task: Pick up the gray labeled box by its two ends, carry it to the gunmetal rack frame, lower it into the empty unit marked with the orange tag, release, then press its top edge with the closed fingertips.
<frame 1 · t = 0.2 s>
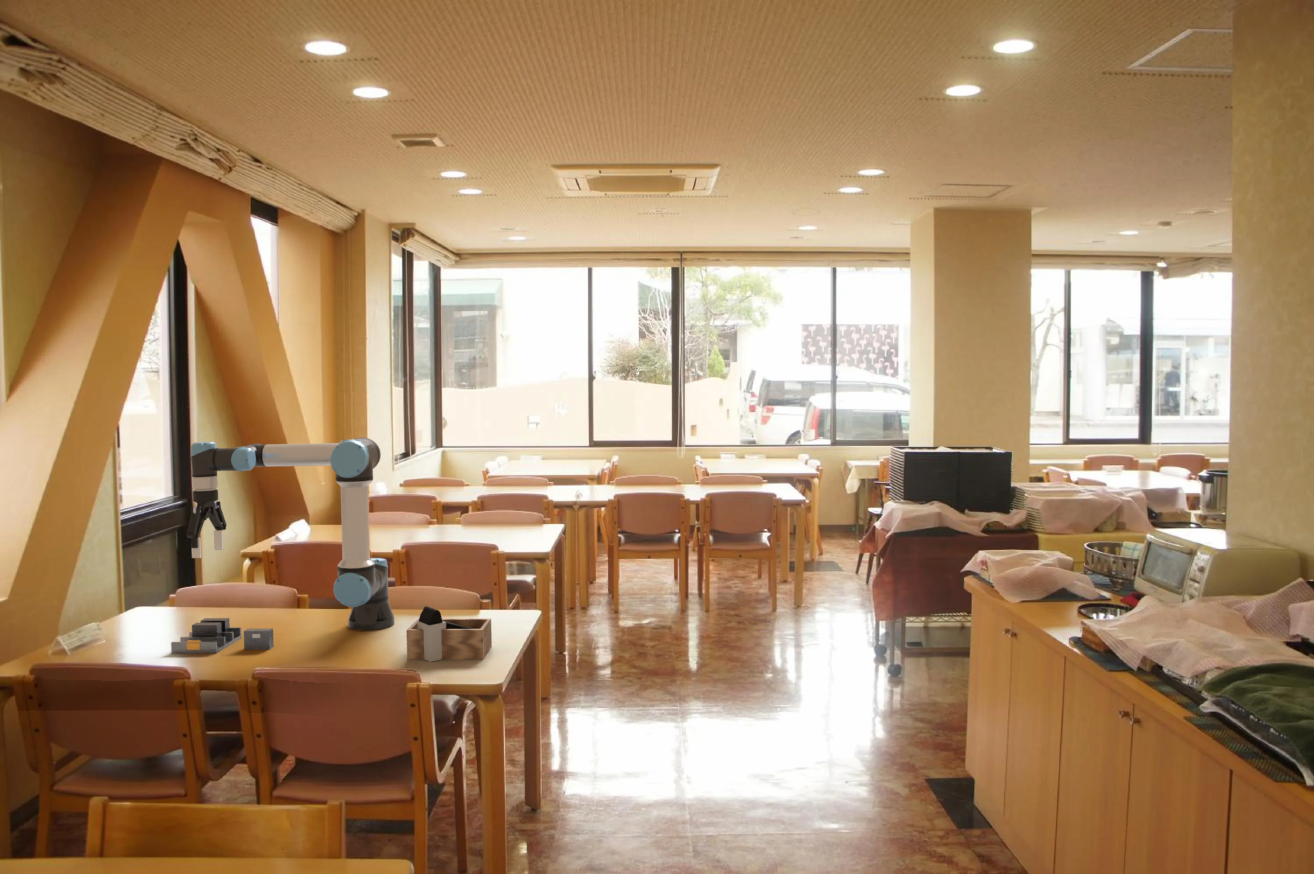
hand: (208, 553, 312), 28 cm above the table, fingers open, 13 cm apart
rack: (207, 645, 304), on the table
gray labeled box: (259, 648, 301), on the table
open wooden box: (450, 652, 293), on the table
decorative object: (450, 653, 293), resting in open wooden box
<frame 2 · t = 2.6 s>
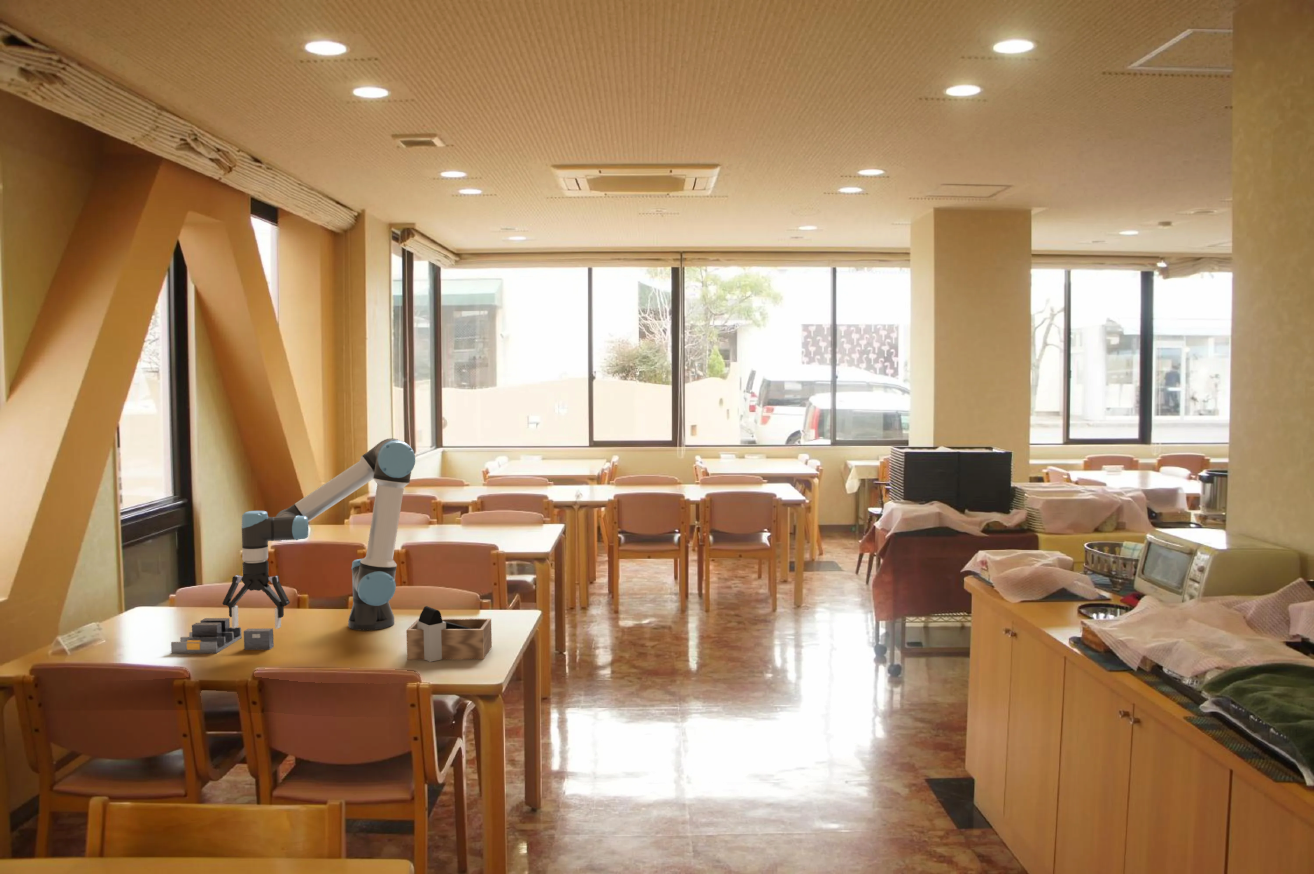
hand: (256, 627, 300), 7 cm above the table, fingers open, 13 cm apart
nothing on the table moved.
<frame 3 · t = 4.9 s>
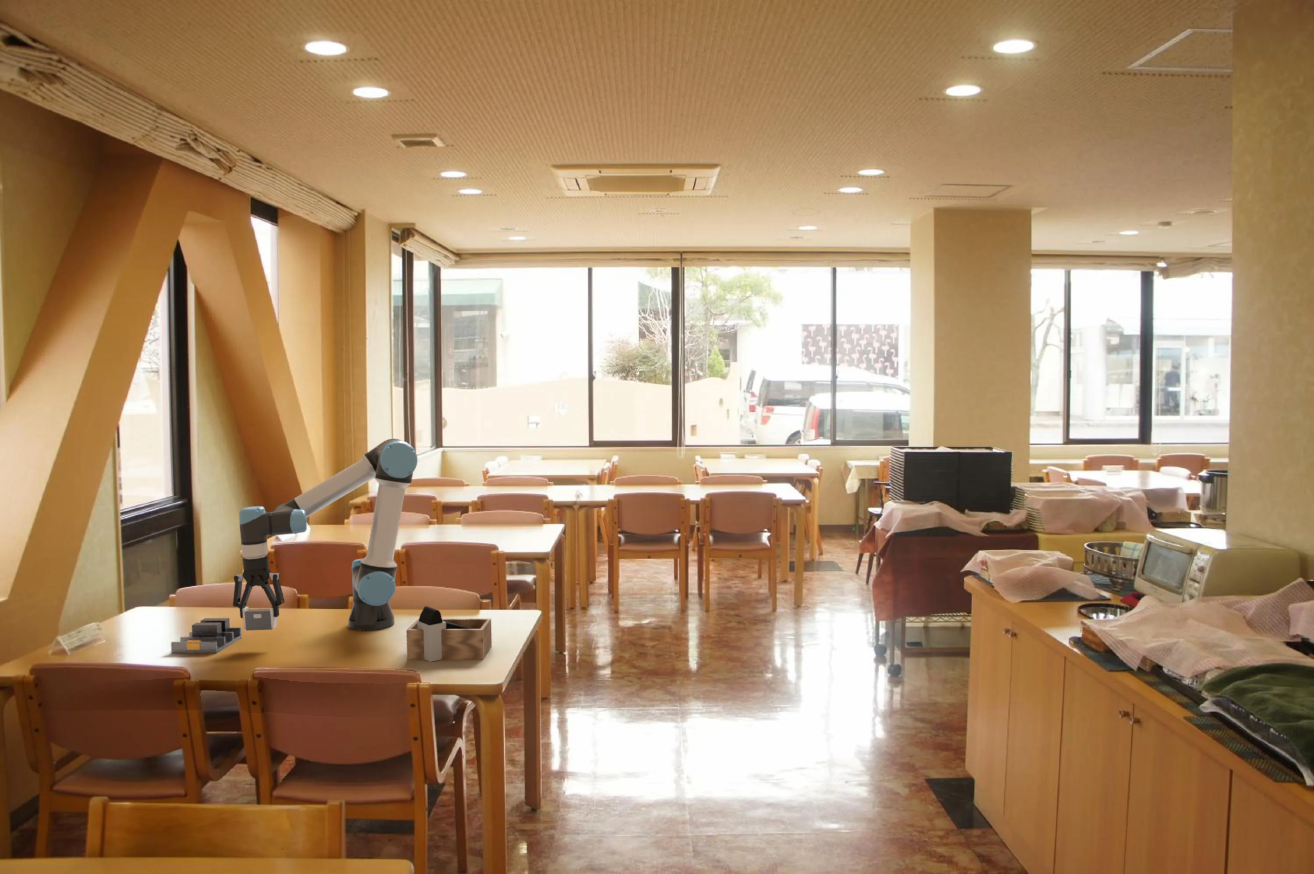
hand: (260, 627, 300), 7 cm above the table, fingers closed on gray labeled box, 8 cm apart
gray labeled box: (260, 628, 300), point 6 cm above the table, touching gripper
everything else where it was.
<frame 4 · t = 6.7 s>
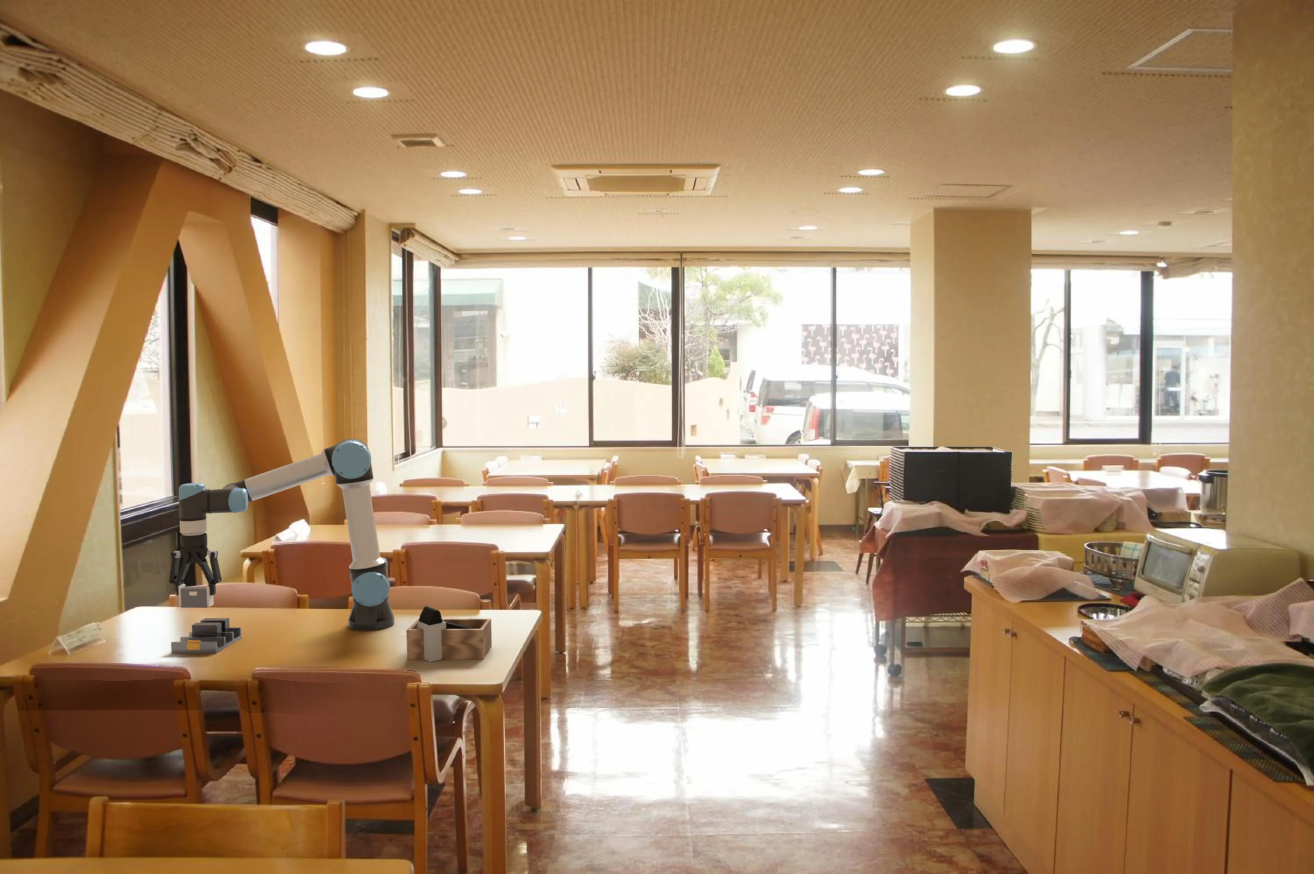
hand: (196, 605, 298), 14 cm above the table, fingers closed on gray labeled box, 8 cm apart
gray labeled box: (196, 606, 298), point 14 cm above the table, touching gripper
everything else where it was.
when the fingers open (1 cm above the table, at t = 8.9 s): gray labeled box stays where it is, resting on rack.
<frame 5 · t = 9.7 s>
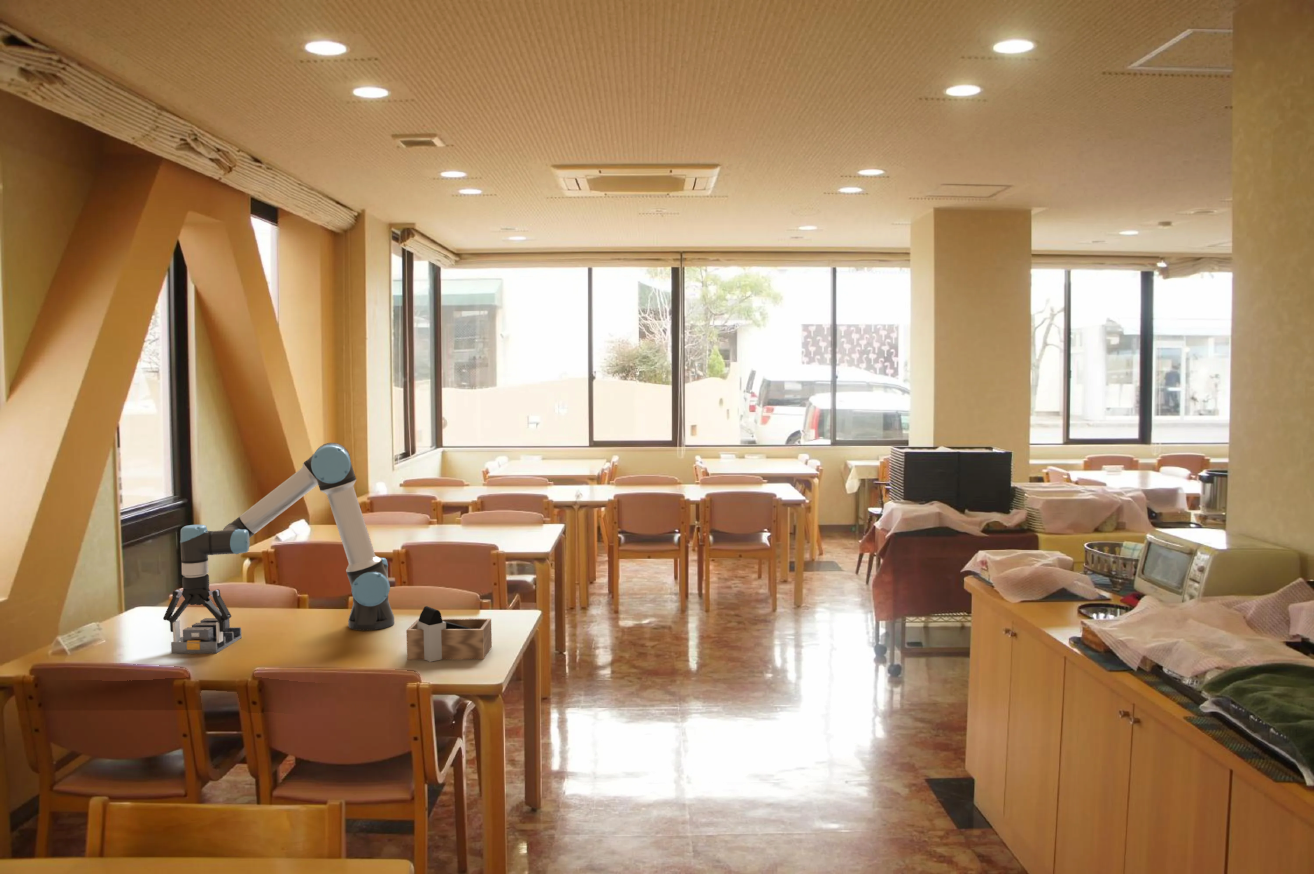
hand: (198, 641, 298), 3 cm above the table, fingers open, 13 cm apart
gray labeled box: (198, 647, 299), point 1 cm above the table, touching rack
everything else where it was.
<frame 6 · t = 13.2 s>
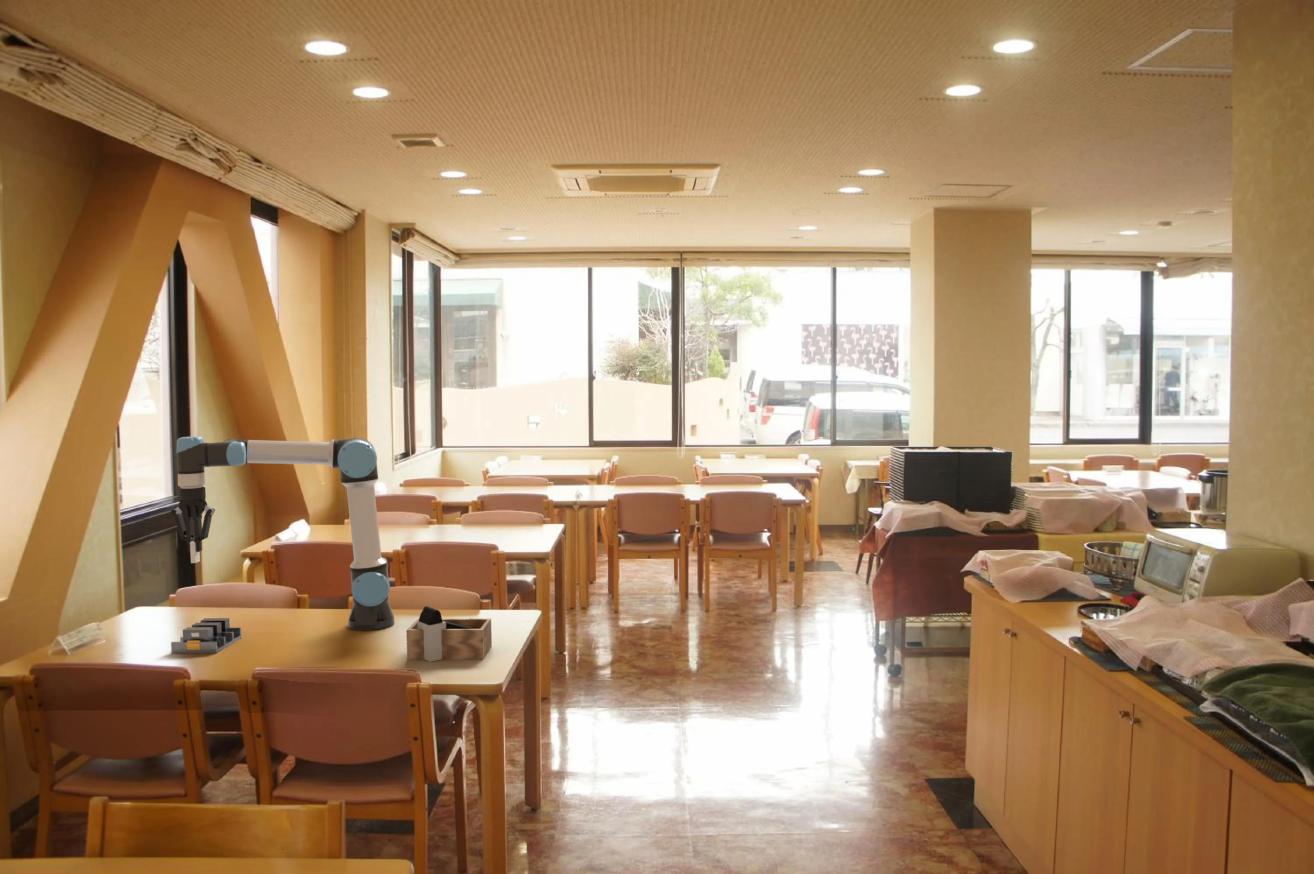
hand: (195, 562, 297), 28 cm above the table, fingers closed
nothing on the table moved.
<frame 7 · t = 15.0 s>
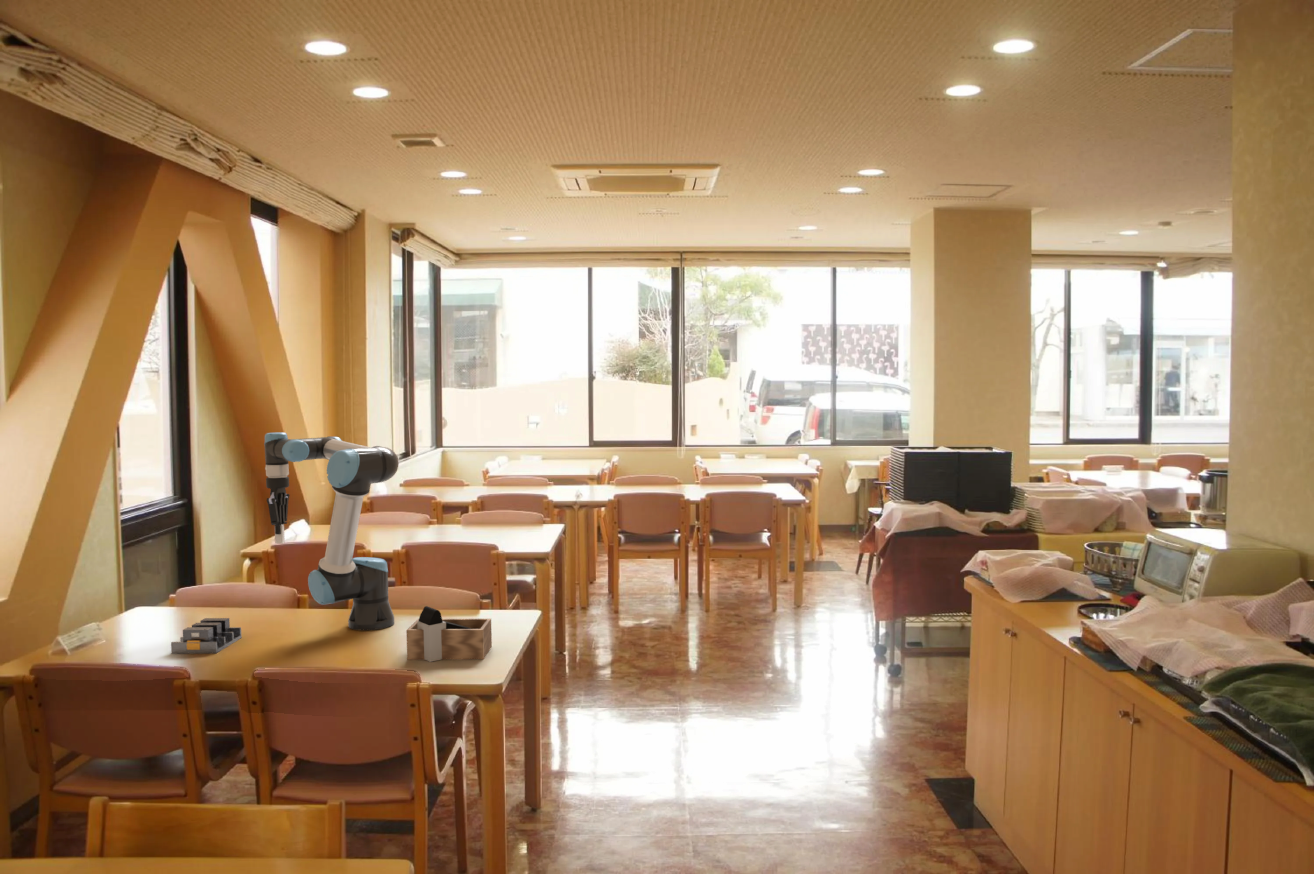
hand: (279, 542, 337), 27 cm above the table, fingers closed
nothing on the table moved.
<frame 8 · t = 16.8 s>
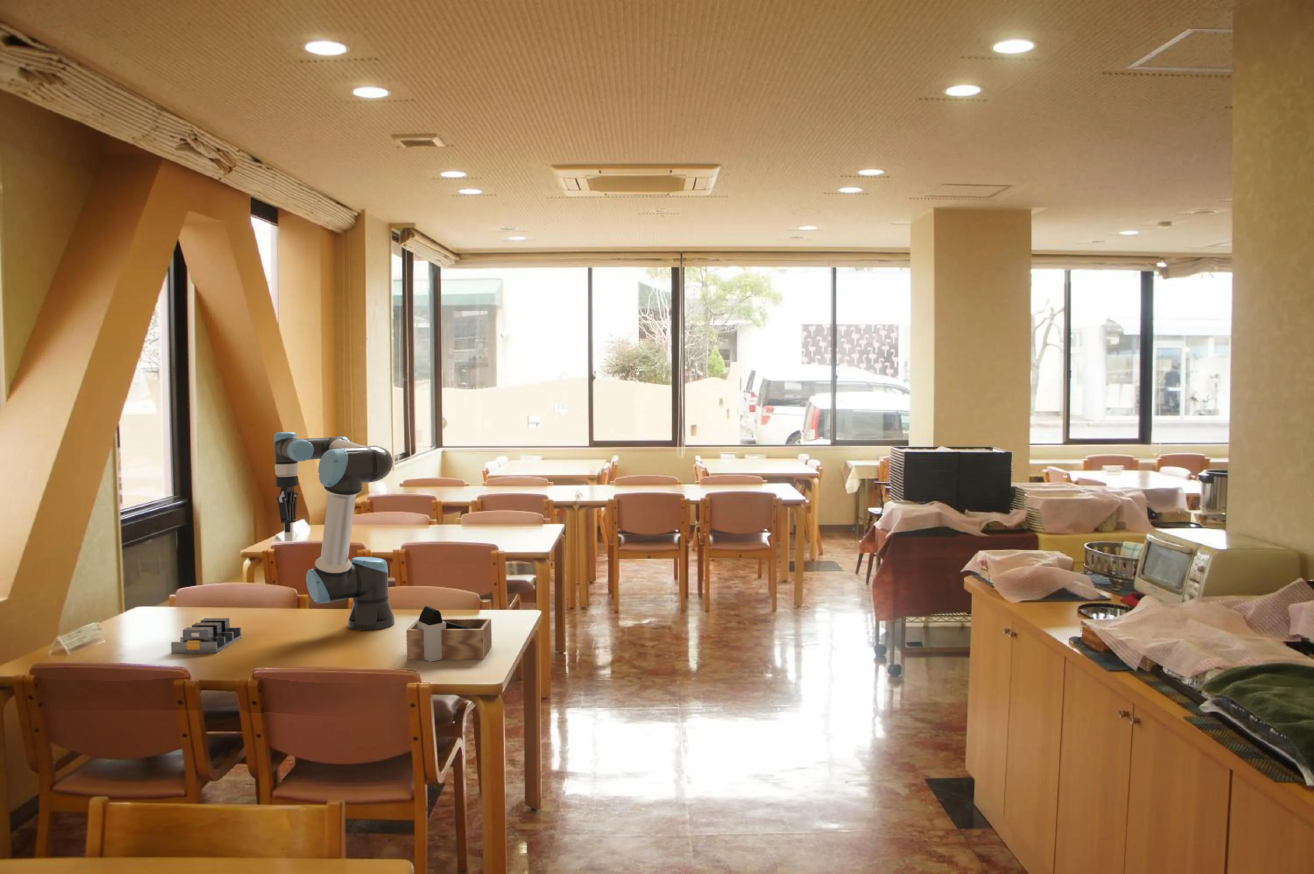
hand: (289, 540, 342), 26 cm above the table, fingers closed
nothing on the table moved.
at the end: gray labeled box 0.0 cm from the target spot on the rack, point 1.0 cm above the rack's base; gray labeled box tilted 0°; the gripper is holding nothing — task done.
